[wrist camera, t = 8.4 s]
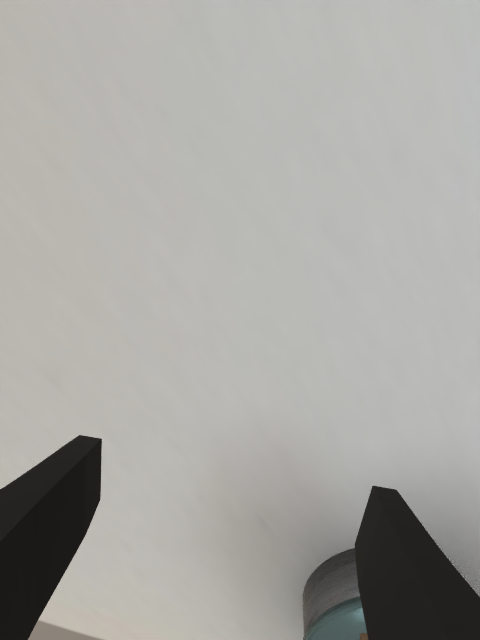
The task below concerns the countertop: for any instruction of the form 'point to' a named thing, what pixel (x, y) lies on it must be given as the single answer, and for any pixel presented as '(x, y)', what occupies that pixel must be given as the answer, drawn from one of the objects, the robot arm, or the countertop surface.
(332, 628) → the grey tin
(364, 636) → the walnut cube
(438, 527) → the countertop surface
